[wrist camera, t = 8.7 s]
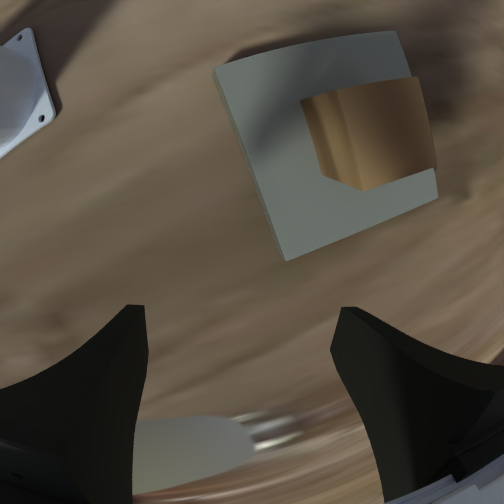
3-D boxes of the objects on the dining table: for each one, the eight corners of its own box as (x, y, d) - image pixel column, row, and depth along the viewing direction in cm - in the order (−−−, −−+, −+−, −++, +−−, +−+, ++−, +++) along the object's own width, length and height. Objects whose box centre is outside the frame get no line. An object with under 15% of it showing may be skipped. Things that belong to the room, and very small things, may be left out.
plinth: (276, 247, 21) (285, 261, 19) (212, 76, 17) (213, 67, 14) (418, 190, 21) (438, 197, 19) (376, 38, 17) (395, 30, 14)
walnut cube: (322, 175, 17) (363, 191, 13) (299, 100, 16) (336, 89, 11) (385, 155, 17) (437, 166, 13) (367, 85, 16) (417, 76, 11)
